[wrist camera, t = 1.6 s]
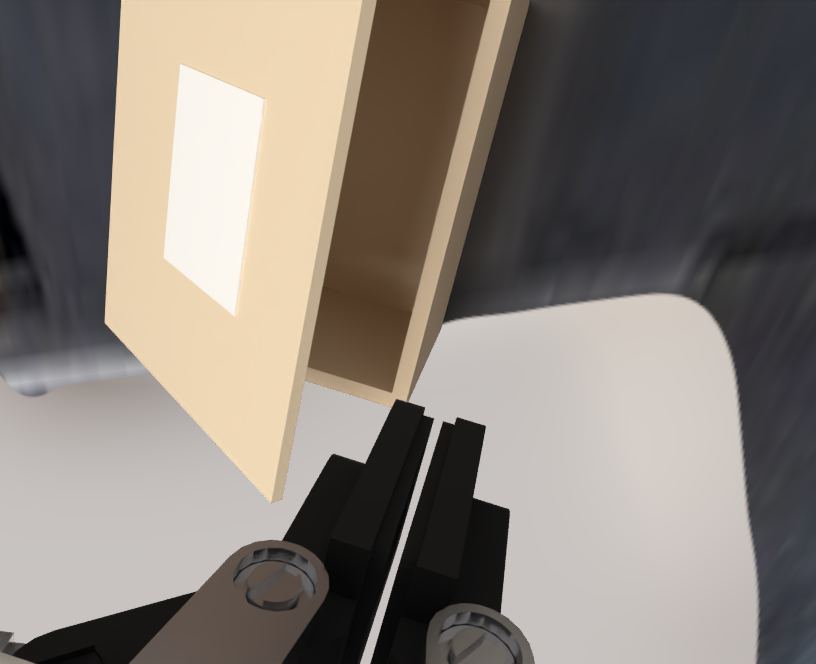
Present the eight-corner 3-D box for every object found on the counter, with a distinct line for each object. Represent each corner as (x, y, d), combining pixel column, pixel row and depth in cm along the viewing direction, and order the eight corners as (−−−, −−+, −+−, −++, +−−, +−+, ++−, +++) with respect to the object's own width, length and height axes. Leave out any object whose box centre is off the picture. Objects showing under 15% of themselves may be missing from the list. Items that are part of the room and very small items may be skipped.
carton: (529, 2, 37) (518, -26, 26) (427, 380, 47) (386, 476, 36) (258, -64, 39) (139, -117, 28) (212, 315, 48) (110, 387, 37)
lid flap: (394, -97, 18) (378, -104, 18) (282, 499, 26) (268, 504, 25) (139, -117, 28) (125, -122, 27) (114, 321, 36) (102, 322, 35)
